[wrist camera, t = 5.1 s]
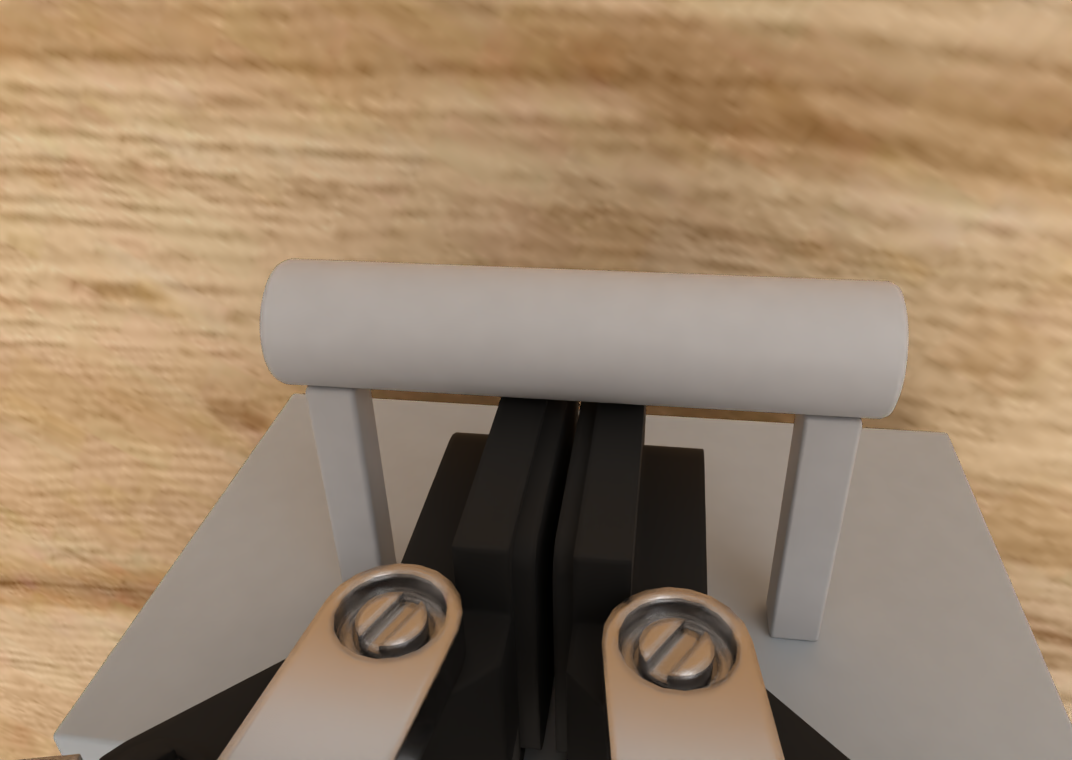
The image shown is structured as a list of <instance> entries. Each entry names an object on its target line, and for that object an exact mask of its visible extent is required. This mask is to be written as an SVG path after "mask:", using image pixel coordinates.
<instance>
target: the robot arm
mask: <svg viewBox="0 0 1072 760" xmlns="http://www.w3.org/2000/svg"><path fill="white" fill-rule="evenodd" d="M645 423H646V405H634V404H617V403H600V402H583V401H581V406H580V411H579V401H566V400H549V399H532V398H515V397H501V399H500V402H499V405H498V408H497V411H496V414H495V417H494V420H493V423H492V426H491V429H490V432H489V434H476V433H461V432H456V433H454V434H452V436H451V438H450V440H449V442H448V445H447V447H446V450H445V452H444V455H443V457H442V460H441V462H440V465H439V468H438V470H437V473H436V475H435V478H434V480H433V483H432V485H431V488H430V490H429V493H428V495H427V498H426V500H425V503H424V506H423V508H422V511H421V513H420V516H419V518H418V521H417V523H416V526H415V528H414V531H413V533H412V536H411V538H410V541H409V544H408V546H407V549H406V551H405V554H404V556H403V559H402V561H401V563H397V564H389V565H382V566H377V567H374V568H371V569H368V570H366V571H363V572H360V573H357V574H356V575H354V576H353V577H351V578H350V579H348V580H347V581H345V582H343V583H342V584H340V585H339V586H338V587H337V588H336V589H335V591H334V592H333V593H332V594H331V595H330V596H329V597H328V598H327V599H326V601H325V602H324V604H323V605H322V607H321V608H320V609H319V611H318V612H317V614H316V615H315V617H314V618H313V620H312V621H311V623H310V624H309V626H308V627H307V629H306V630H305V631H304V633H303V634H302V636H301V637H300V639H299V640H298V642H297V643H296V645H295V646H294V648H293V649H292V651H291V652H290V654H289V655H288V656H287V658H286V659H284V660H282V661H280V662H278V663H276V664H274V665H272V666H271V667H269V668H267V669H265V670H263V671H261V672H259V673H257V674H255V675H253V676H251V677H249V678H247V679H245V680H243V681H241V682H240V683H238V684H236V685H234V686H232V687H230V688H228V689H226V690H224V691H222V692H220V693H218V694H216V695H214V696H212V697H210V698H209V699H207V700H205V701H203V702H201V703H199V704H197V705H195V706H193V707H191V708H189V709H187V710H185V711H183V712H181V713H179V714H177V715H176V716H174V717H172V718H170V719H168V720H166V721H164V722H162V723H160V724H158V725H156V726H154V727H152V728H150V729H148V730H146V731H145V732H143V733H141V734H139V735H137V736H135V737H133V738H131V739H129V740H127V741H125V742H124V743H122V744H121V745H119V746H118V747H116V748H114V749H113V750H111V751H110V752H108V753H107V754H105V755H104V756H102V757H101V758H100V759H99V760H524V754H525V749H526V748H528V749H536V750H541V749H542V747H543V743H544V737H545V731H546V725H547V719H548V712H549V706H550V700H551V694H552V687H553V681H554V687H555V741H556V752H562V753H567V760H850V759H849V758H848V757H847V756H845V755H844V754H843V753H842V752H841V751H840V750H838V749H837V748H836V747H835V746H834V745H832V744H831V743H830V742H829V741H828V740H826V739H825V738H824V737H823V736H822V735H821V734H819V733H818V732H817V731H816V730H815V729H813V728H812V727H811V726H810V725H809V724H808V723H806V722H805V721H804V720H803V719H802V718H800V717H799V716H798V715H797V714H796V713H794V712H793V711H792V710H791V709H790V708H789V707H787V706H786V705H785V704H784V703H783V702H781V701H780V700H779V699H778V698H777V697H775V696H774V695H773V694H772V693H771V692H770V691H768V690H767V689H766V688H765V685H764V681H763V677H762V674H761V670H760V666H759V663H758V659H757V655H756V651H755V648H754V644H753V640H752V638H751V636H750V634H749V632H748V630H747V628H746V626H745V624H744V622H743V621H742V620H741V619H740V618H739V617H738V616H737V615H736V614H735V613H734V612H733V611H732V609H731V608H730V607H728V606H726V605H725V604H723V603H721V602H720V601H718V600H716V599H715V598H713V597H712V596H709V595H708V594H707V550H706V506H705V462H704V450H703V449H698V448H683V447H669V446H654V445H644V442H645ZM20 760H83V759H82V757H81V755H80V754H72V755H62V756H51V757H41V758H31V759H20Z"/></svg>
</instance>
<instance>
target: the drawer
mask: <svg viewBox="0 0 1072 760" xmlns="http://www.w3.org/2000/svg"><path fill="white" fill-rule="evenodd" d="M260 339H261V346H262V352H263V355H264V359H265V362H266V365H267V367H268V369H269V371H270V372H271V374H272V375H273V376H274V377H275V378H276V379H277V380H279V381H281V382H283V383H285V384H293V385H308V386H307V388H306V394H293V395H292V396H291V397H290V399H289V400H288V402H287V403H286V405H285V406H284V407H283V409H282V410H281V412H280V413H279V414H278V416H277V417H276V419H275V420H274V422H273V423H272V424H271V426H270V427H269V429H268V430H267V432H266V433H265V434H264V436H263V437H262V439H261V440H260V441H259V443H258V444H257V446H256V447H255V449H254V450H253V451H252V453H251V454H250V456H249V457H248V459H247V460H246V461H245V463H244V464H243V466H242V467H241V468H240V470H239V471H238V473H237V474H236V476H235V477H234V478H233V480H232V481H231V483H230V484H229V486H228V487H227V488H226V490H225V491H224V493H223V494H222V495H221V497H220V498H219V500H218V501H217V503H216V504H215V505H214V507H213V508H212V510H211V511H210V513H209V514H208V515H207V517H206V518H205V520H204V521H203V522H202V524H201V525H200V527H199V528H198V530H197V531H196V532H195V534H194V535H193V537H192V538H191V540H190V541H189V542H188V544H187V545H186V547H185V548H184V549H183V551H182V552H181V554H180V555H179V557H178V558H177V559H176V561H175V562H174V564H173V565H172V567H171V568H170V569H169V571H168V572H167V574H166V575H165V576H164V578H163V579H162V581H161V582H160V584H159V585H158V586H157V588H156V589H155V591H154V592H153V594H152V595H151V596H150V598H149V599H148V601H147V602H146V603H145V605H144V606H143V608H142V609H141V611H140V612H139V613H138V615H137V616H136V618H135V619H134V621H133V622H132V623H131V625H130V626H129V628H128V629H127V630H126V632H125V633H124V635H123V636H122V638H121V639H120V640H119V642H118V643H117V645H116V646H115V647H114V649H113V650H112V652H111V653H110V655H109V656H108V657H107V659H106V660H105V662H104V663H103V665H102V666H101V667H100V669H99V670H98V672H97V673H96V674H95V676H94V677H93V679H92V680H91V682H90V683H89V684H88V686H87V687H86V689H85V690H84V692H83V693H82V694H81V696H80V697H79V699H78V700H77V701H76V703H75V704H74V706H73V707H72V709H71V710H70V711H69V713H68V714H67V716H66V717H65V719H64V720H63V721H62V723H61V724H60V726H59V727H58V728H57V730H56V731H55V733H54V741H55V743H56V745H57V747H58V749H59V751H60V753H61V755H72V754H80V755H81V757H82V759H83V760H99V759H100V758H101V757H102V756H104V755H105V754H107V753H108V752H110V751H111V750H113V749H114V748H116V747H118V746H119V745H121V744H122V743H124V742H125V741H127V740H129V739H131V738H133V737H135V736H137V735H139V734H141V733H143V732H145V731H146V730H148V729H150V728H152V727H154V726H156V725H158V724H160V723H162V722H164V721H166V720H168V719H170V718H172V717H174V716H176V715H177V714H179V713H181V712H183V711H185V710H187V709H189V708H191V707H193V706H195V705H197V704H199V703H201V702H203V701H205V700H207V699H209V698H210V697H212V696H214V695H216V694H218V693H220V692H222V691H224V690H226V689H228V688H230V687H232V686H234V685H236V684H238V683H240V682H241V681H243V680H245V679H247V678H249V677H251V676H253V675H255V674H257V673H259V672H261V671H263V670H265V669H267V668H269V667H271V666H272V665H274V664H276V663H278V662H280V661H282V660H284V659H286V658H287V656H288V655H289V654H290V652H291V651H292V649H293V648H294V646H295V645H296V643H297V642H298V640H299V639H300V637H301V636H302V634H303V633H304V631H305V630H306V629H307V627H308V626H309V624H310V623H311V621H312V620H313V618H314V617H315V615H316V614H317V612H318V611H319V609H320V608H321V607H322V605H323V604H324V602H325V601H326V599H327V598H328V597H329V596H330V595H331V594H332V593H333V592H334V591H335V589H336V588H337V587H338V586H339V585H340V584H342V583H343V582H345V581H347V580H348V579H350V578H351V577H353V576H354V575H356V574H357V573H360V572H363V571H366V570H368V569H371V568H374V567H377V566H382V565H389V564H397V563H401V561H402V559H403V556H404V554H405V551H406V549H407V546H408V544H409V541H410V538H411V536H412V533H413V531H414V528H415V526H416V523H417V521H418V518H419V516H420V513H421V511H422V508H423V506H424V503H425V500H426V498H427V495H428V493H429V490H430V488H431V485H432V483H433V480H434V478H435V475H436V473H437V470H438V468H439V465H440V462H441V460H442V457H443V455H444V452H445V450H446V447H447V445H448V442H449V440H450V438H451V436H452V434H454V433H456V432H461V433H476V434H489V432H490V429H491V426H492V423H493V420H494V417H495V414H496V411H497V408H498V406H495V405H478V404H461V403H445V402H428V401H411V400H395V399H378V398H372V394H371V389H378V390H396V391H413V392H430V393H447V394H464V395H481V396H498V397H515V398H532V399H549V400H566V401H583V402H600V403H617V404H634V405H652V406H669V407H686V408H703V409H720V410H737V411H754V412H771V413H788V414H795V420H794V423H778V422H761V421H744V420H728V419H711V418H694V417H678V416H661V415H646V423H645V442H644V445H654V446H669V447H683V448H698V449H703V450H704V462H705V506H706V550H707V594H708V595H709V596H712V597H713V598H715V599H716V600H718V601H720V602H721V603H723V604H725V605H726V606H728V607H730V608H731V609H732V611H733V612H734V613H735V614H736V615H737V616H738V617H739V618H740V619H741V620H742V621H743V622H744V624H745V626H746V628H747V630H748V632H749V634H750V636H751V638H752V640H753V644H754V648H755V651H756V655H757V659H758V663H759V666H760V670H761V674H762V677H763V681H764V685H765V688H766V689H767V690H768V691H770V692H771V693H772V694H773V695H774V696H775V697H777V698H778V699H779V700H780V701H781V702H783V703H784V704H785V705H786V706H787V707H789V708H790V709H791V710H792V711H793V712H794V713H796V714H797V715H798V716H799V717H800V718H802V719H803V720H804V721H805V722H806V723H808V724H809V725H810V726H811V727H812V728H813V729H815V730H816V731H817V732H818V733H819V734H821V735H822V736H823V737H824V738H825V739H826V740H828V741H829V742H830V743H831V744H832V745H834V746H835V747H836V748H837V749H838V750H840V751H841V752H842V753H843V754H844V755H845V756H847V757H848V758H849V759H850V760H1072V724H1071V722H1070V719H1069V717H1068V715H1067V712H1066V710H1065V708H1064V705H1063V703H1062V701H1061V698H1060V696H1059V694H1058V691H1057V689H1056V687H1055V684H1054V682H1053V680H1052V677H1051V675H1050V672H1049V670H1048V668H1047V665H1046V663H1045V661H1044V658H1043V656H1042V654H1041V651H1040V649H1039V647H1038V644H1037V642H1036V640H1035V637H1034V635H1033V633H1032V630H1031V628H1030V626H1029V623H1028V621H1027V619H1026V616H1025V614H1024V612H1023V609H1022V607H1021V604H1020V602H1019V600H1018V597H1017V595H1016V593H1015V590H1014V588H1013V586H1012V583H1011V581H1010V579H1009V576H1008V574H1007V572H1006V569H1005V567H1004V565H1003V562H1002V560H1001V558H1000V555H999V553H998V551H997V548H996V546H995V543H994V541H993V539H992V536H991V534H990V532H989V529H988V527H987V525H986V522H985V520H984V518H983V515H982V513H981V511H980V508H979V506H978V504H977V501H976V499H975V497H974V494H973V492H972V490H971V487H970V485H969V483H968V480H967V478H966V475H965V473H964V471H963V468H962V466H961V464H960V461H959V459H958V457H957V454H956V452H955V450H954V447H953V445H952V443H951V440H950V438H949V436H948V434H947V433H944V432H927V431H911V430H894V429H877V428H862V421H861V418H873V419H881V418H884V417H887V416H889V415H890V414H891V413H892V411H893V410H894V408H895V406H896V404H897V401H898V399H899V396H900V394H901V390H902V387H903V383H904V378H905V373H906V366H907V358H908V343H909V330H908V316H907V309H906V304H905V300H904V297H903V294H902V291H901V289H900V287H899V286H898V285H896V284H894V283H892V282H889V281H871V280H845V279H818V278H792V277H765V276H739V275H712V274H686V273H659V272H633V271H606V270H580V269H553V268H527V267H500V266H474V265H447V264H421V263H394V262H367V261H341V260H314V259H288V260H286V261H283V262H281V263H279V264H278V265H277V266H276V267H275V268H274V269H273V271H272V273H271V274H270V276H269V278H268V280H267V283H266V286H265V289H264V293H263V297H262V303H261V310H260ZM524 760H567V753H562V752H556V741H555V687H554V681H553V687H552V694H551V700H550V706H549V712H548V719H547V725H546V731H545V737H544V743H543V747H542V749H541V750H536V749H528V748H526V749H525V754H524Z"/></svg>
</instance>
